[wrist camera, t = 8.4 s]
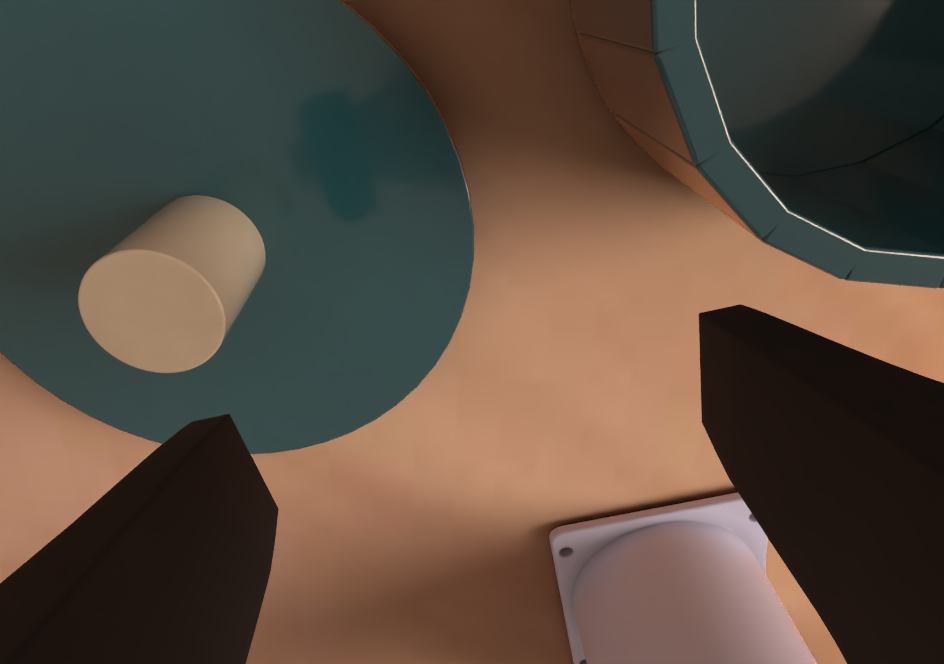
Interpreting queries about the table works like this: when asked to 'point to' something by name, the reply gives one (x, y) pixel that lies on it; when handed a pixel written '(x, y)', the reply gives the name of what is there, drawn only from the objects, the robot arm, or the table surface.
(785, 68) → the pot
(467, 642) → the table surface
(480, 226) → the table surface
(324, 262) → the lid
